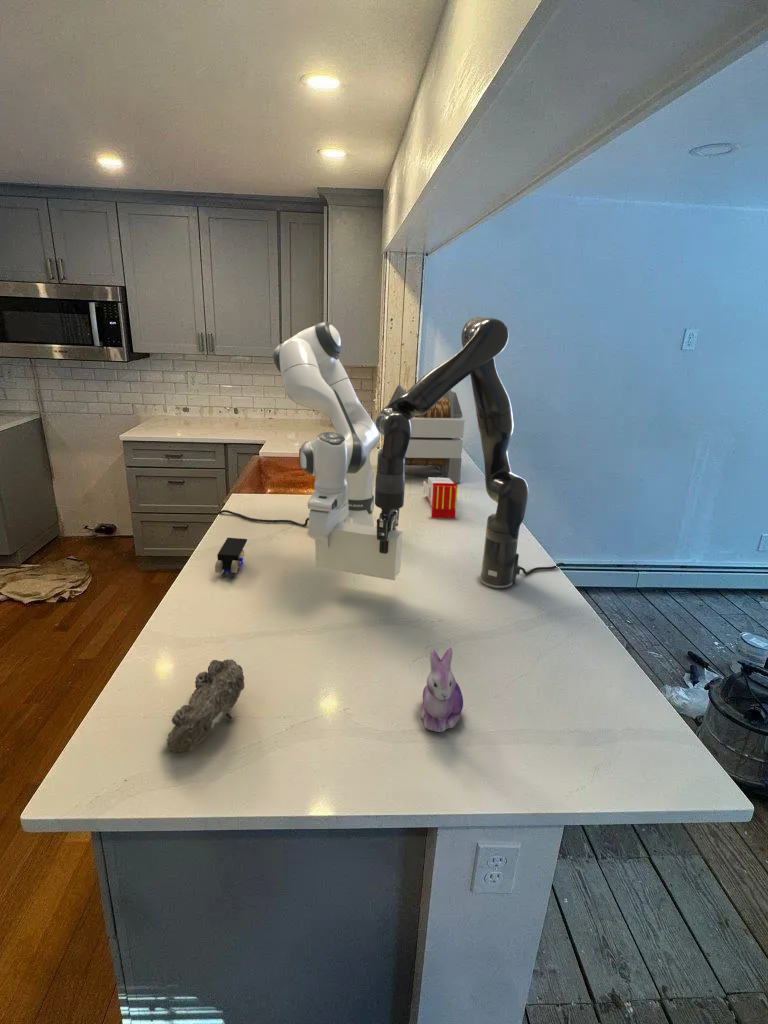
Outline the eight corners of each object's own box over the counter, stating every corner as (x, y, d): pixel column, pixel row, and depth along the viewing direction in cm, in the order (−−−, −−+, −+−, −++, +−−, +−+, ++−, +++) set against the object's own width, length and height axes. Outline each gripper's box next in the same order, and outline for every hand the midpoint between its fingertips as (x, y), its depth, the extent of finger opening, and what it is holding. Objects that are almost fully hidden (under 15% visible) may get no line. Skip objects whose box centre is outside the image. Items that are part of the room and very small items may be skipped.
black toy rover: (238, 584, 162) (249, 557, 175) (236, 562, 158) (247, 536, 172) (215, 584, 161) (227, 556, 175) (212, 561, 158) (225, 535, 171)
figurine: (434, 741, 104) (440, 672, 99) (407, 708, 113) (411, 643, 108) (476, 726, 108) (484, 660, 103) (446, 695, 117) (452, 632, 112)
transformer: (382, 463, 289) (386, 382, 275) (445, 464, 293) (451, 384, 279) (390, 482, 257) (394, 392, 243) (460, 483, 261) (468, 394, 247)
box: (315, 566, 156) (315, 526, 152) (323, 558, 161) (323, 519, 157) (394, 580, 150) (397, 538, 146) (400, 571, 155) (402, 531, 151)
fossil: (192, 660, 117) (244, 628, 112) (224, 691, 120) (276, 661, 115) (142, 746, 98) (202, 712, 93) (182, 779, 101) (242, 748, 96)
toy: (450, 473, 241) (461, 484, 212) (448, 504, 244) (459, 519, 214) (421, 472, 240) (429, 483, 211) (420, 503, 243) (427, 518, 214)
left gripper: (333, 482, 161) (332, 528, 165) (304, 504, 142) (304, 555, 147) (354, 485, 159) (353, 531, 164) (328, 508, 141) (327, 558, 145)
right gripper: (396, 498, 138) (393, 561, 144) (410, 482, 151) (407, 540, 157) (367, 494, 140) (365, 556, 145) (383, 479, 153) (381, 536, 158)
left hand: (330, 542), depth 155 cm, fingers closed on box, 6 cm apart
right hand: (387, 548), depth 151 cm, fingers closed on box, 6 cm apart
